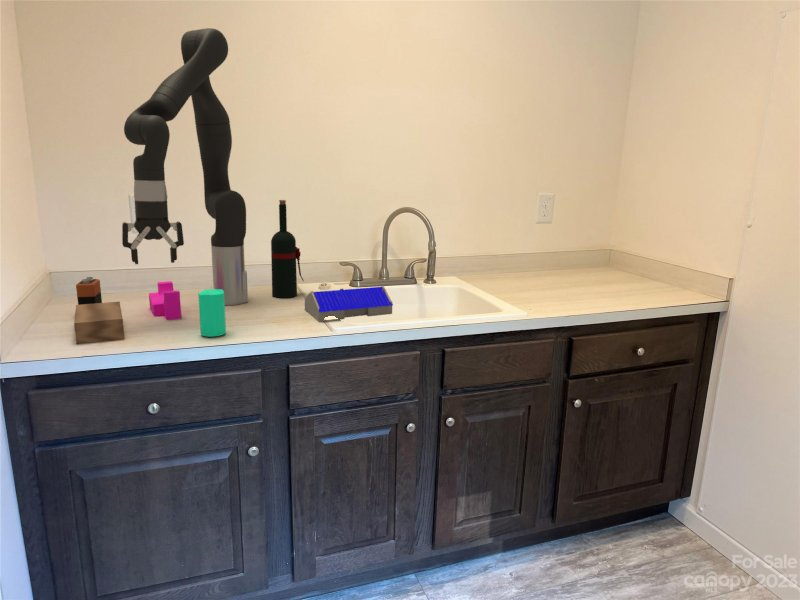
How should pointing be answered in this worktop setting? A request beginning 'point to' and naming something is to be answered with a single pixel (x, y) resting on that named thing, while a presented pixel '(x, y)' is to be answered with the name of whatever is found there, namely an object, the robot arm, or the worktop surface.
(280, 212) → the wine bottle
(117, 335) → the walnut plinth
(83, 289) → the battery
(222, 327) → the candle
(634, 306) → the worktop surface
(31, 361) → the worktop surface
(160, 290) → the magenta bracket
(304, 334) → the worktop surface
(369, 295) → the roof
